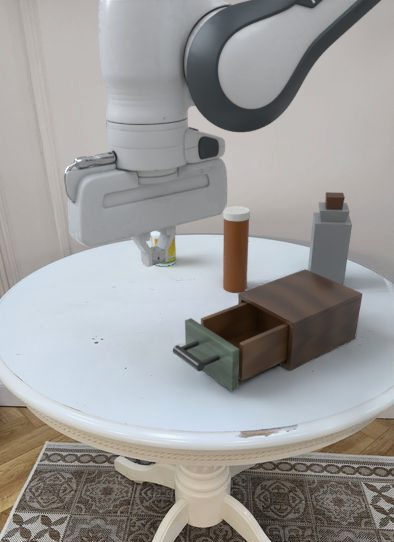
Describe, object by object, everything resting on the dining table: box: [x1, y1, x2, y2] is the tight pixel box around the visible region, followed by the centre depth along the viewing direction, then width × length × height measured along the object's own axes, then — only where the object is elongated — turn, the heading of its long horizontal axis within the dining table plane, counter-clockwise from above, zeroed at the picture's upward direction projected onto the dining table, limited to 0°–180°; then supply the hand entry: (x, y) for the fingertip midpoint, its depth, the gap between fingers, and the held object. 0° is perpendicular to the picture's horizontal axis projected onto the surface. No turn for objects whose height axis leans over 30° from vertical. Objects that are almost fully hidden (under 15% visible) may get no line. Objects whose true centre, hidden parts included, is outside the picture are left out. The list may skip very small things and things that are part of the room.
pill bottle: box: [222, 205, 251, 293], centre depth 104 cm, size 5×5×16 cm
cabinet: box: [237, 268, 363, 372], centre depth 89 cm, size 16×13×9 cm
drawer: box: [172, 302, 290, 392], centre depth 82 cm, size 19×11×7 cm, turn 127°
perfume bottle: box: [307, 191, 353, 286], centre depth 105 cm, size 7×7×18 cm
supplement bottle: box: [150, 231, 177, 267], centre depth 118 cm, size 5×5×10 cm
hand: (155, 263), depth 66 cm, fingers closed
